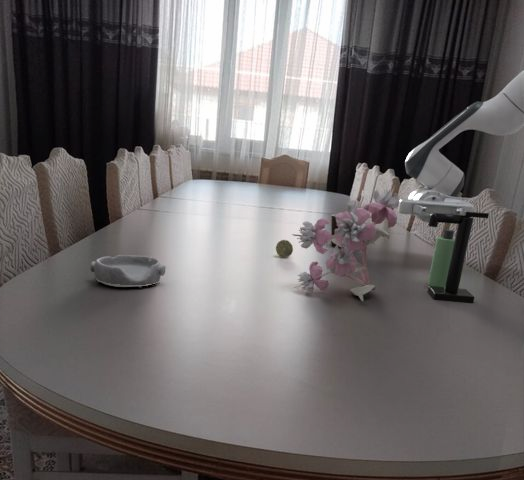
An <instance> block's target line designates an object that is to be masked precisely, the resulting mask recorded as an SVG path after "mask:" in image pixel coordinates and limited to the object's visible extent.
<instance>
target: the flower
mask: <svg viewBox="0 0 524 480" xmlns="http://www.w3.org/2000/svg"><path fill="white" fill-rule="evenodd" d="M395 189H396V185H395V184H394V185H393V186H392V190H391V189H389V190H388V188H386V190H385V189H384V190H383V191H382V194H380V191H379V188H376V189H375V190H374V191H373V196H372V199H373V200H374V202H371V203H365V204H363V205H362V203H363V201H364V198H365V197H364V196H362V198H361V201H360V202H358V201H357V200H356V199H355V200H354V199H352V200H351V199H349V200H348V201H347V203H346V207H345V208H346V209H345V210H344V212H338V213H336V214H337V215H336V223H337V226H338V228H337V229H335V234H334V235H331V232H329V231H328V230H327V229H325V228H326V225H328V224H331V223H330V222H331V221H330V220H329V219H328V218H326V217H321V218H319V219H318V220H317V221H316V223H314V225H313V223H312V222H310V221H308V220H307V221H303V222H302V224H301V225H303V226H299V229H298V231H299V233H300V234H296V233H295V234H293V233H292V234H291V235H292V236H293V237H297V238H296V239H297V240H299V241H298V244H300V243H301V244H300V247H301V248H302V249H306V250H307V249H308V248H310V247H311V246H312V245H313V247H314V248H315V250H316V252H317V253H319V254H322V255H324V254H326V252H328V251H329V249H327V248H324V245H325V244H327V243H329V242H331V240H332V242H333V243H335V244H336V246H335V247H333V252H332V253H331V254H330V256H329V257H330V258H328V259H326V262H325V266H326V269H327V270H329V272H326V273H323V272H324V269H323V268H322V266H321V265H319V262H318V261H311V263H310V264H309V268H308V270H309V273H308V272H307V271H303V272H300V273H299V274H298V275H297V277H299V278H297V280H298V283H300V284H298V286H293V288H294V289H296V288H298V287H302V288H301V291H302V290H303V291H305V294H312V293H314V287H315V286H316V287H317V289H319V290H320V291H326V290H328V289H329V285H330V283H329V280H325V279H322V278H323V277H324V276H326V275H328V274H334V275H335V276H338V277H340V278H343V277H345V278H348V279H351V280H352V281H354V282H356V283H358V284H359V285H362V286H356V287H353V288H351V289H350V290H349V291H350V292H351V294H353V295H354V296H358V298H359V299H360V301H361V302H364V295H365V294H367V293H369V292H373V291H375V290H376V286H375V285H374V284H371V280H370V276H369V272H368V259H367V247H368V246H369V245H372V244H373V245H376V243H375V242H377V241H378V240H379V239H380V238H381V237H383V238H384V237H387V239H388V240H390V237H391V236H390V233H388V232H387V231H386V230H385V229H383V228H380V227H376V225H380V224H382V223H383V222H384V221H385V220H387V229H390V228H394V227H395V226H396V224H397V223H398V222H397V221H398V215H397V213H396V212H395V210H393V209H398V207H397V206H398V204H399V201H400V199H401V198H400V195H399V194H397V192H395V193H394V195H393V192H394V190H395ZM369 219H371V222H367V221H368V220H369ZM364 222H365V223H364ZM331 238H332V239H331ZM337 245H338V246H339V247H341V248H338V246H337ZM342 247H344V248H342ZM354 252H357V253H358V252H362V259H361V260H362V263H360V262H358V261H357V259H356V257H355V255H354ZM354 273H358V274H359V275H360V276H361V278H362V280H361V279H360V278H358V277H357V276H354V275H352V274H354Z"/></svg>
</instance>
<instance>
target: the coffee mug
mask: <svg viewBox="0 0 524 480" xmlns="http://www.w3.org/2000/svg"><path fill="white" fill-rule="evenodd" d="M337 214H338V213H334V214H331V219H330V220H331V221H330V222H331V223H330V224H331V226H330V228H331V229H330V234H331V235H334V234H335V229H337V228H338V226H337V223H336V215H337ZM364 223H366V221H365V222H364ZM331 239H332V238H331ZM330 246H331V247H333V248H334V247H335V246H336V244H335V243H333V242H332V240H330ZM337 246H338V245H337ZM338 248H339V249H342V248H344V247H342V248H341V247H339V246H338Z"/></svg>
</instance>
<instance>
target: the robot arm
mask: <svg viewBox="0 0 524 480" xmlns="http://www.w3.org/2000/svg"><path fill="white" fill-rule="evenodd" d="M522 128H524V69H523V70H522V71H521V72H519V73H518V74H517V75H516V76H515V77H514V78H513V79H512V80H511V81H510V82H509V83H507V84H506V85H505V87H503V89H502V90H501V91H500V92H499V93H497V94H496V95H495V96H494V97H491V98H490V99H488V100H485V101H475V102H473V103H472V104H470V105H469V106H467V107H466V108H464V109H463V110H462V111H461V112H459V113H458V114H457V115H455V116H453V118H452V119H451V120H448V122H447V123H446V124H444V125H443V126H441V128H440V129H438V130H437V131H436V132H435V133H433V134H432V135H431V136H430V137H428V138H427V139H426V140H425V141H423V142H421V143H420V144H418V145H417V146H416V147H414V148H413V149H412V150H411V151H410V152H409V153H408V155H407V156H406V159H405V161H404V166H405V172H406V174H407V175H408V176H410V177H411V178H412V179H414V180H417V182H418V183H420V184H421V185H423V187H421V188H417V189H414V190H413V191H412V192H410V194H409V195H408V197H407V198H399V199H400V201H399V204H398V206H397V212H398V214H401V215H410V216H411V215H412V216H414V217H416V218H417V219H418V220H420V221H422V222H423V223H428V224H429V220H430V216H431V214H433V213H443V214H455V215H464V213H465V211H467V212H475V205H474V204H473V203H471V202H469V201H466V200H463V197H461V196H459V194H460V193H461V191H462V189H463V187H464V184H465V172H464V171H462V170H461V169H460V167H458V166H457V165H456V164H455V163H453V162H452V161H450V160H449V159H448V158H447V157H446V156H445V155H444V154H442V153H441V152H440V149H441V148H442V147H444V146H445V145H447V144H448V143H449V142H450V141H452V140H453V139H454V138H455V137H456V136H457V135H459V134H460V133H462V132H464V131H468V130H469V131H470V130H474V131H478V132H482V133H486V134H489V135H492V136H499V137H504V136H505V137H506V136H510V135H514V134H516V133H517V132H519V131H520V130H521V129H522ZM470 218H473V217H470Z"/></svg>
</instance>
